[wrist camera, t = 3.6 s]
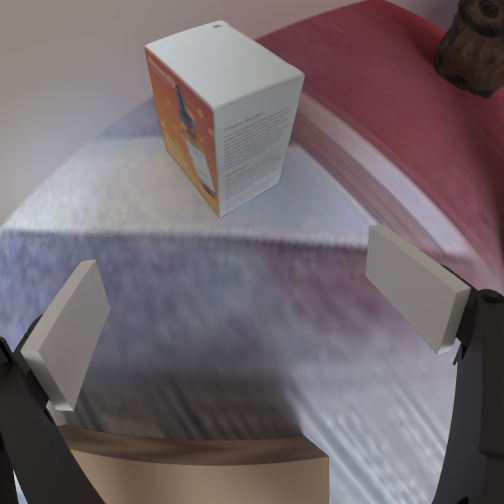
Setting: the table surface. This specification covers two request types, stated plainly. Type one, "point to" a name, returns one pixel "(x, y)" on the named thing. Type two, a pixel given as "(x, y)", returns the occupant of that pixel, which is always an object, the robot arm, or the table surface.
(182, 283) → the table surface
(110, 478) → the walnut block
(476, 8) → the owl
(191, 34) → the small box
